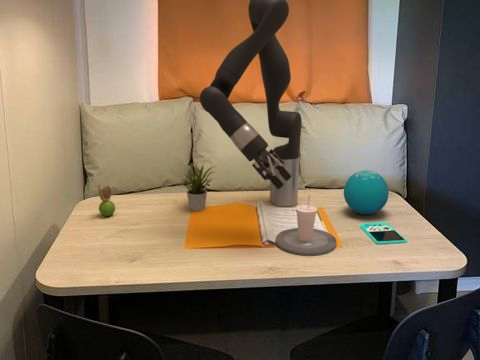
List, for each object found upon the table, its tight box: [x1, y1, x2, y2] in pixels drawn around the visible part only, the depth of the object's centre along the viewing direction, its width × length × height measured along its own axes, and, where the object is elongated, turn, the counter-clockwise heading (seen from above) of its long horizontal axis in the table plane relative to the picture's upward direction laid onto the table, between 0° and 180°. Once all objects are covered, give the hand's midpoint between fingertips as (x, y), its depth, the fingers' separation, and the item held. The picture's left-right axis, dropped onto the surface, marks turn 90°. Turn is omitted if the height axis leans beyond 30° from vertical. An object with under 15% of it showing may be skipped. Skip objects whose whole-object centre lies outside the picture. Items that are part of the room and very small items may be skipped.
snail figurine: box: [96, 184, 116, 217], centre depth 185 cm, size 5×6×12 cm
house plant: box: [177, 162, 217, 212], centre depth 192 cm, size 14×14×16 cm
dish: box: [275, 227, 337, 257], centre depth 166 cm, size 18×18×1 cm
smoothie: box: [295, 194, 318, 241], centre depth 164 cm, size 6×6×14 cm
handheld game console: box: [359, 221, 408, 246], centre depth 173 cm, size 10×16×1 cm, turn 9°
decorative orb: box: [343, 169, 390, 215], centre depth 188 cm, size 15×15×15 cm
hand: (285, 183), depth 163 cm, fingers open, 8 cm apart
